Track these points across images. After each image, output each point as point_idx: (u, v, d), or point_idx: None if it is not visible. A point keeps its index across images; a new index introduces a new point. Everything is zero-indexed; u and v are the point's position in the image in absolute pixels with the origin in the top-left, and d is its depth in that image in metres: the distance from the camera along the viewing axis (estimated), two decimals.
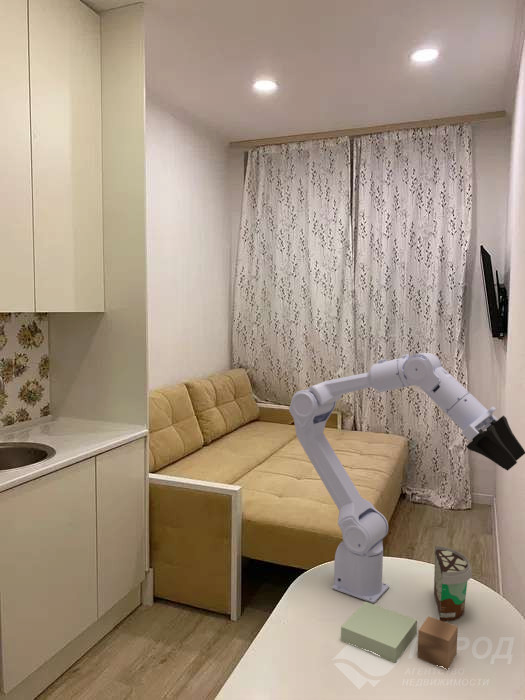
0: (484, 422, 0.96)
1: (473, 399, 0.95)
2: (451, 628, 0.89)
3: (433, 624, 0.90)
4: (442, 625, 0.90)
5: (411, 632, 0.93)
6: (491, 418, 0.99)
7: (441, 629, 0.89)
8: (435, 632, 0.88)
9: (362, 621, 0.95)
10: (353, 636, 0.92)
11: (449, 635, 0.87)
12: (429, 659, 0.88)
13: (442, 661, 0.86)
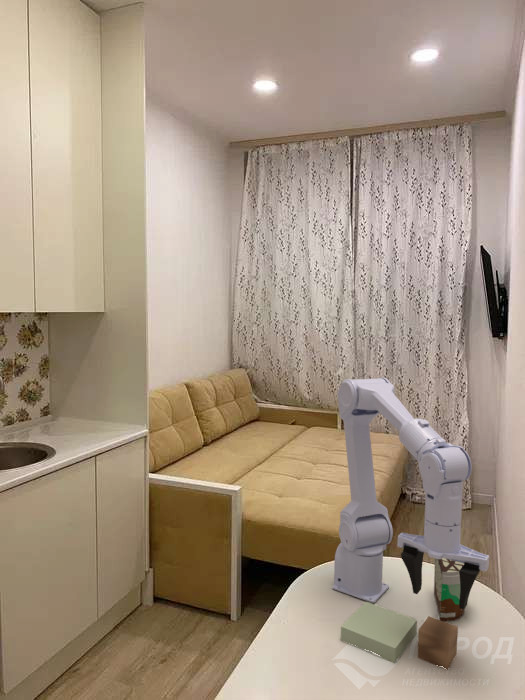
0: None
1: (433, 532, 0.86)
2: (451, 628, 0.89)
3: (433, 624, 0.90)
4: (442, 625, 0.90)
5: (411, 632, 0.93)
6: None
7: (442, 629, 0.89)
8: (435, 632, 0.88)
9: (362, 621, 0.95)
10: (352, 636, 0.92)
11: (449, 635, 0.87)
12: (429, 659, 0.88)
13: (442, 661, 0.86)
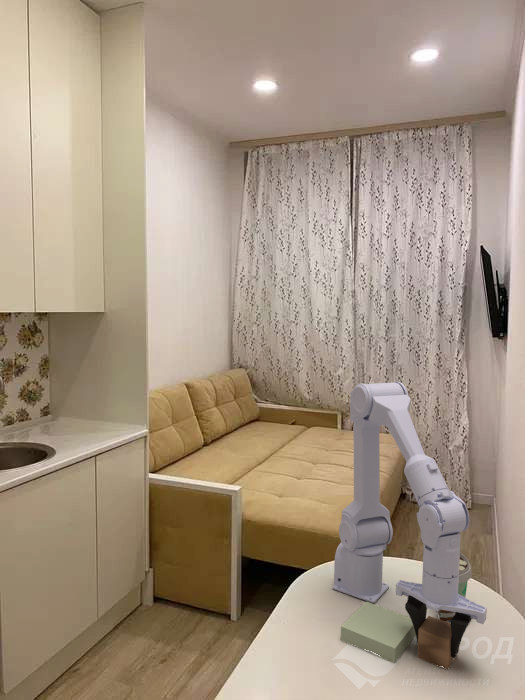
0: None
1: (431, 583, 0.86)
2: None
3: (433, 623, 0.90)
4: (442, 624, 0.90)
5: (411, 632, 0.93)
6: None
7: (442, 628, 0.89)
8: (435, 631, 0.88)
9: (362, 621, 0.95)
10: (352, 636, 0.92)
11: (449, 634, 0.87)
12: (429, 658, 0.88)
13: (442, 660, 0.86)
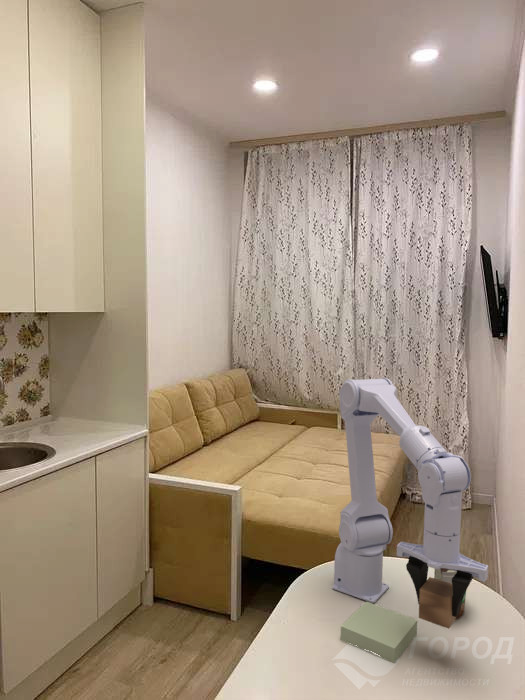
0: None
1: (432, 541, 0.86)
2: None
3: (434, 584, 0.90)
4: (443, 585, 0.89)
5: (411, 632, 0.93)
6: None
7: (443, 588, 0.88)
8: (436, 591, 0.87)
9: (362, 621, 0.95)
10: (352, 635, 0.92)
11: (451, 594, 0.86)
12: (430, 618, 0.87)
13: (443, 619, 0.86)
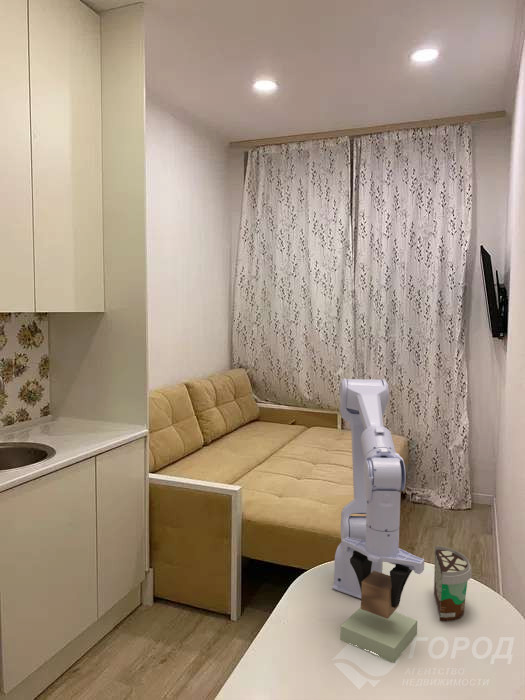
0: None
1: (372, 536, 0.91)
2: None
3: (376, 577, 0.95)
4: (385, 578, 0.94)
5: (411, 632, 0.93)
6: None
7: (384, 580, 0.93)
8: (377, 583, 0.92)
9: (362, 621, 0.95)
10: (352, 635, 0.92)
11: (390, 586, 0.92)
12: (371, 609, 0.92)
13: (383, 610, 0.91)
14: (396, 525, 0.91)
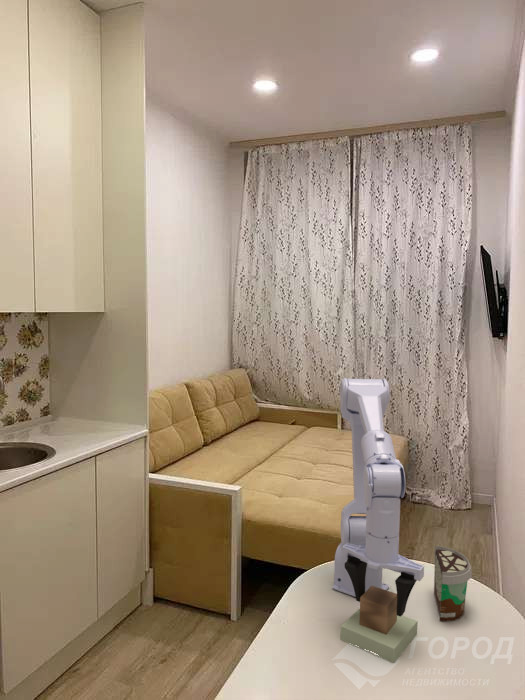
0: None
1: (372, 543, 0.91)
2: (391, 595, 0.94)
3: (375, 592, 0.95)
4: (383, 593, 0.95)
5: (411, 633, 0.93)
6: None
7: (382, 596, 0.94)
8: (375, 599, 0.93)
9: None
10: (352, 635, 0.92)
11: (388, 602, 0.92)
12: (370, 625, 0.93)
13: (381, 626, 0.91)
14: (396, 532, 0.91)
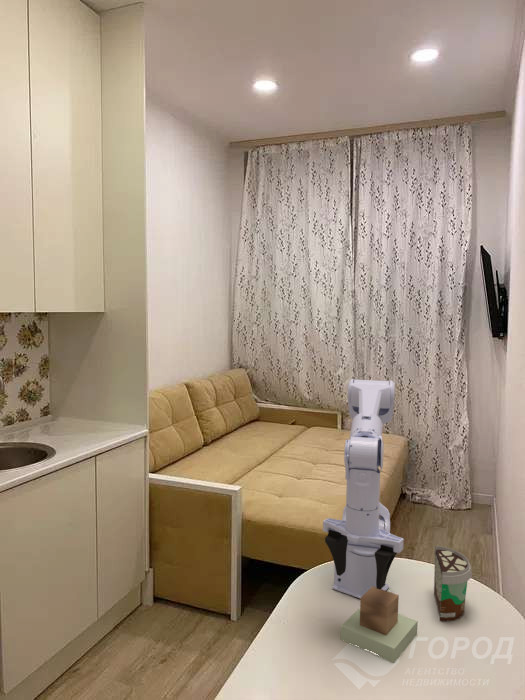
0: None
1: (351, 516, 0.91)
2: (392, 596, 0.94)
3: (375, 593, 0.95)
4: (383, 594, 0.95)
5: (411, 633, 0.93)
6: None
7: (383, 597, 0.94)
8: (376, 600, 0.93)
9: None
10: (352, 635, 0.92)
11: (389, 602, 0.92)
12: (370, 625, 0.92)
13: (381, 627, 0.91)
14: (373, 505, 0.90)
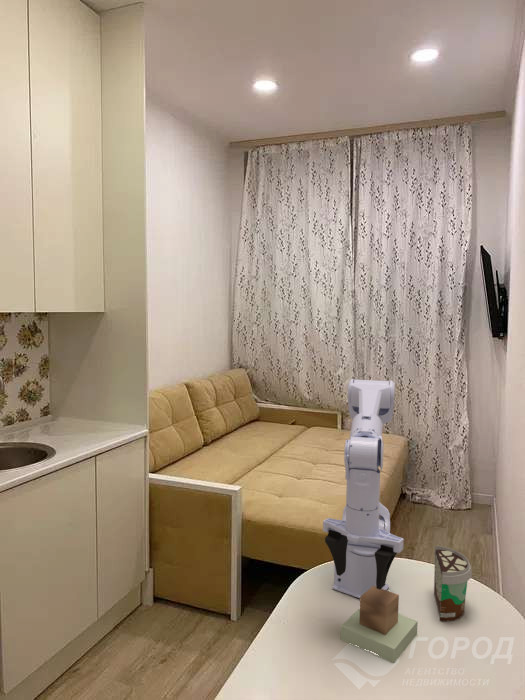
0: None
1: (351, 516, 0.91)
2: (392, 596, 0.94)
3: (376, 592, 0.95)
4: (384, 593, 0.95)
5: (411, 633, 0.93)
6: None
7: (382, 596, 0.94)
8: (375, 599, 0.93)
9: None
10: (352, 636, 0.92)
11: (388, 602, 0.92)
12: (369, 624, 0.93)
13: (380, 626, 0.91)
14: (373, 505, 0.90)
